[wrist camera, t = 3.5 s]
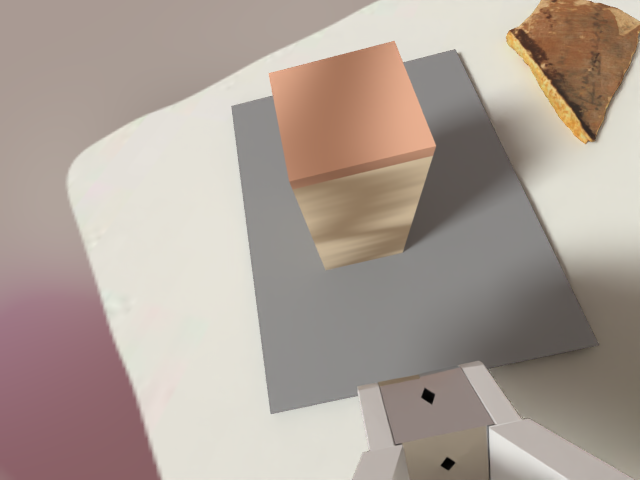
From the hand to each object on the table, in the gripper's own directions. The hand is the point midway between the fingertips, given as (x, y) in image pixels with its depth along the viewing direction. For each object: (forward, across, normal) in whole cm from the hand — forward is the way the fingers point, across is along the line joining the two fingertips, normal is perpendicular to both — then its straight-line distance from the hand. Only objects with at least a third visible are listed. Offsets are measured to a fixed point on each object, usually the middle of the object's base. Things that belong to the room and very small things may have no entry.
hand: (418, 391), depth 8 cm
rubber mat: (+14, -2, 0) cm, 14 cm away
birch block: (+13, 0, +1) cm, 13 cm away
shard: (+19, -18, -4) cm, 27 cm away
